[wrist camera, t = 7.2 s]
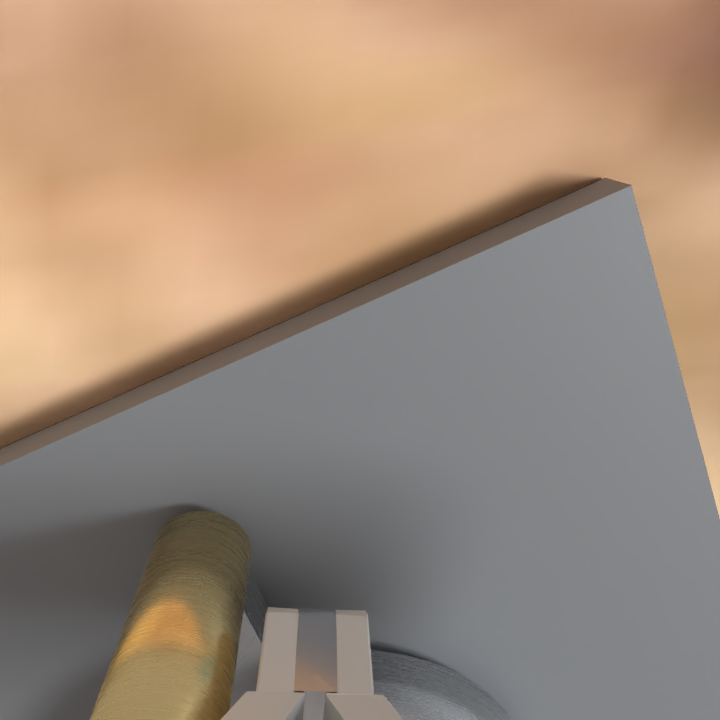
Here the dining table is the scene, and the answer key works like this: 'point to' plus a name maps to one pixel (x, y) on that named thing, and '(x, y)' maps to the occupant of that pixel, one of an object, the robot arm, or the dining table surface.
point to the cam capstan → (235, 639)
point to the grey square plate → (410, 482)
